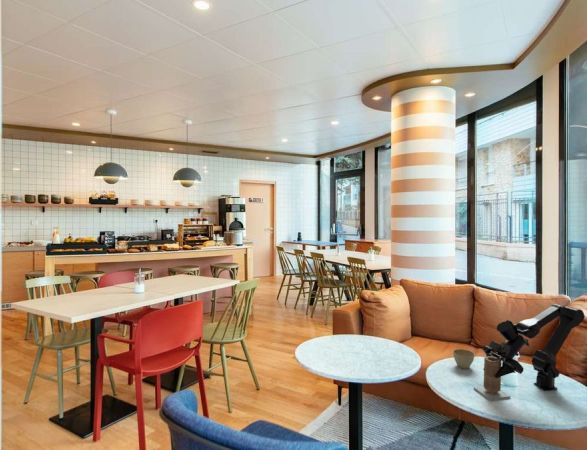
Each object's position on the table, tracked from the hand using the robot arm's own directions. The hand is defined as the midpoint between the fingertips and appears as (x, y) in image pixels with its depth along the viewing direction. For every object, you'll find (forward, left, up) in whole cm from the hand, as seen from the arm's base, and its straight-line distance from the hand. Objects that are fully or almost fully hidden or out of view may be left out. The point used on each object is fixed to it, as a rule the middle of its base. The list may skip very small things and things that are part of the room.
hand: (489, 373), depth 167 cm
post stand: (-1, 0, -9) cm, 9 cm away
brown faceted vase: (-1, 0, -7) cm, 7 cm away
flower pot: (-6, -27, -9) cm, 29 cm away
